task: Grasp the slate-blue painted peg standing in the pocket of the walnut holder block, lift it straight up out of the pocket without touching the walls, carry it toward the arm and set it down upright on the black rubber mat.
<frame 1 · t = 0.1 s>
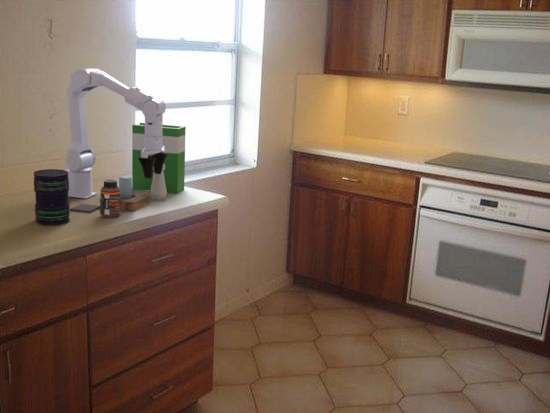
hand: (153, 175, 207), 10 cm above the table, tool pointing down, fingers open, 7 cm apart
storage jar: (52, 221, 185), on the table
green cereal box: (158, 190, 231), on the table
mat: (85, 209, 200), on the table
peg: (125, 203, 207), resting on holder
salt shaker: (158, 199, 217), on the table
holder: (125, 205, 207), on the table
supplement bottle: (110, 216, 194), on the table
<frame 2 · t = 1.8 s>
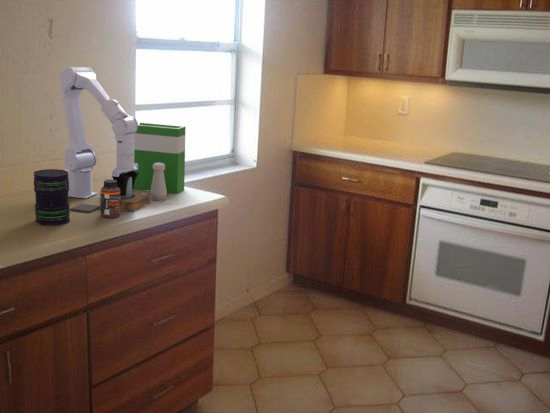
hand: (125, 193, 206), 4 cm above the table, tool pointing down, fingers closed on peg, 4 cm apart
peg: (125, 203, 207), resting on holder, touching gripper
everything else where it was.
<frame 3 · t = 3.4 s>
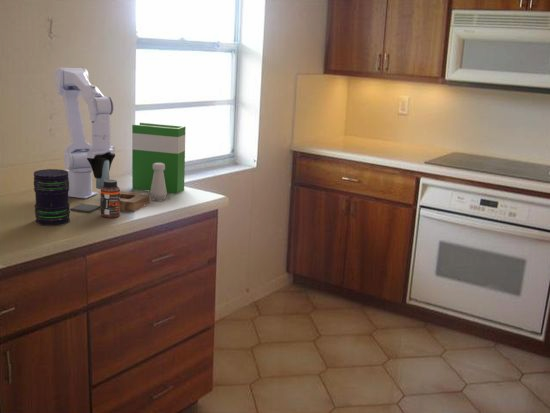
hand: (101, 176, 200), 10 cm above the table, tool pointing down, fingers closed on peg, 4 cm apart
peg: (102, 187, 201), point 7 cm above the table, touching gripper
everything else where it was.
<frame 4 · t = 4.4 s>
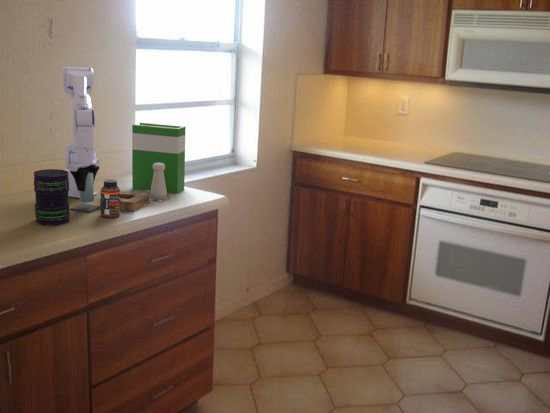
hand: (85, 189, 198), 7 cm above the table, tool pointing down, fingers closed on peg, 4 cm apart
peg: (86, 200, 199), point 3 cm above the table, touching gripper
everything else where it was.
when the fingers open (5 cm above the table, at t = 5.1 s): peg drops 1 cm, resting on mat.
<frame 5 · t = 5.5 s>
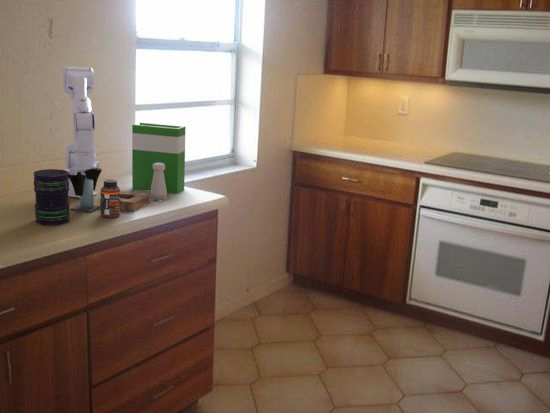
hand: (85, 192, 198), 5 cm above the table, tool pointing down, fingers open, 7 cm apart
peg: (86, 207, 199), point 1 cm above the table, touching mat
everything else where it was.
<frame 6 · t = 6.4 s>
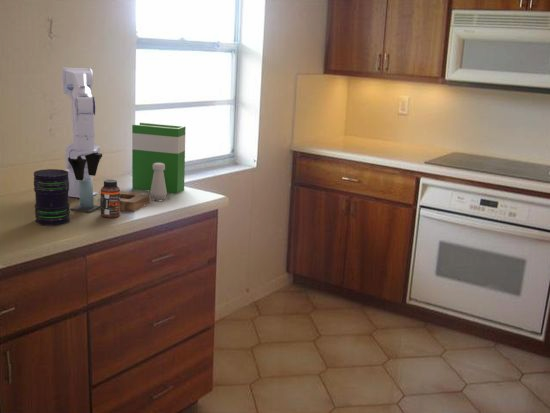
hand: (85, 177, 197), 10 cm above the table, tool pointing down, fingers open, 7 cm apart
nothing on the table moved.
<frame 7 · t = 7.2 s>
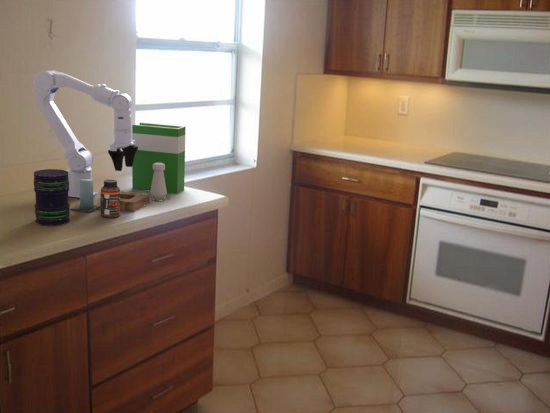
hand: (123, 168, 214), 10 cm above the table, tool pointing down, fingers open, 7 cm apart
nothing on the table moved.
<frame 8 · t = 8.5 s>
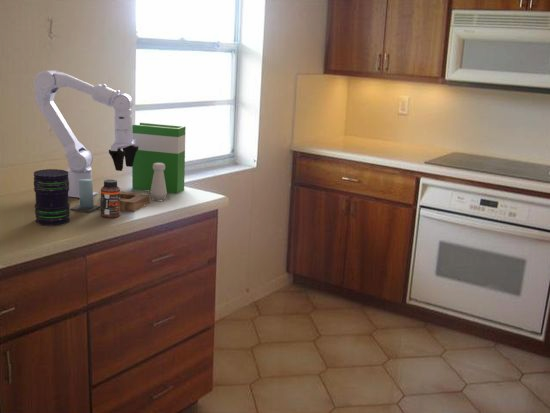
hand: (124, 168, 214), 10 cm above the table, tool pointing down, fingers open, 7 cm apart
nothing on the table moved.
at the end: peg inside the target area on the mat (0.5 cm from its centre), point 0.7 cm above the mat's base; peg tilted 2°; the gripper is holding nothing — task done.
